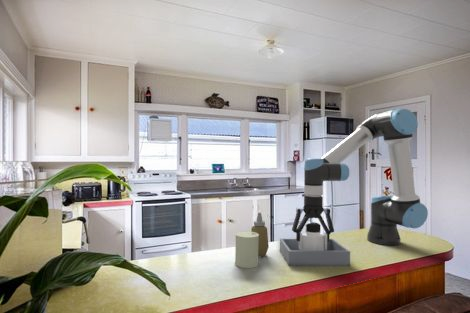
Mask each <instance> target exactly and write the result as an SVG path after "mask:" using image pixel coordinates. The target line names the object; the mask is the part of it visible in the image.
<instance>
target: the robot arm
mask: <svg viewBox="0 0 470 313" xmlns="http://www.w3.org/2000/svg"><path fill="white" fill-rule="evenodd" d="M418 124H419V123H418V119H417V116H416V115H415V114H414V112H413V111H411V110H410V109H408V108H394V109H391V110H387V111H381V112H377V113H375V114H372V115H371V116H370V117H368V118H367V119H365V120H364V121H363V122H361V123H360V124H359V125H358V126H356V129H355V131H353V132H352V133H350V135H348V136H347V137H346V138H344V139H343V140H342V141H341V142H339V143H338V144H336V146H335V147H333V148H332V149H331V150H329V151H328V152H327V153H326V154H324V155H323V156H322V157H321V158H305V160H304V167H303V170H304V172H303V173H304V174H303V175H304V176H303V177H304V179H303V181H304V183H303V184H304V187H303V188H304V189H303V193H304V196H303V207H301V208H299V207H296V210H295V211H296V212H295V213H296V214H295V216H294V221H293V225H292V229H291V231H292V232H293V233H296V236H295V239H296V240H297V241H299V249H300V250H302V234H303V233H301V232H302V231H303V229H304V227H306V223H308V221H309V219H318V221H319V222H320V223H319V224H320V226H321V227H322V228H323V230H324V232H322V235H324V249H325V250H327V241H329V239H330V235H331V233H335V230H334V224H333V221H332V217H331V209H330V208H328V207H326V208H324V207H323V206H324V202H323V200H324V199H323V198H324V197H323V196H322V195H324V190H323V189H324V182H343V181H347V180H348V179H349V176H350V168H349V166H348V165H347V164H346V163H343V161H345V160H346V159H347V158H349V157H350V156H351V155H353V154H354V153H355V152H356V151H357V150H358V149H359V148H361V147H362V146H364V145H365V144H366V143H370V142H372V141H373V140H375V139H377V138H380V137H381V138H383V141H384V142H385V143H387V145H388V148H387V149H388V154H389V155H388V156H389V163H390V171H391V173H390V174H391V181H392V189H393V194H392V195H373V197H371V201H370V202H371V203H370V209H371V210H370V216H371V217H370V226H369V229H368V232H367V234H366V235H367V236H366V240H367V241H368V242H370V243H374V244H377V243H378V244H377V245H382V244H384V246H398V245H401V236H400V233H399V229H398V228H397V227H398V226H402V227H405V228H409V229H418V228H421V227H422V226H423V225H425V222H426V221H427V220H428V216H429V215H428V214H429V213H428V212H429V210H428V208H427V206H426V205H425V204H424V203H421V198H420V196H419V195H418V194H416V188H415V181H414V171H413V164H412V163H413V162H412V154H411V146H410V141H411V140H412V139H413V133H415V132H416V131H417V128H418ZM302 213H304V215H303V218H302V219H301V215H302ZM322 213H323V214H324V215H325V219H326V222H325V221H324V218H323V216H322ZM300 219H301V221H300ZM299 222H300V223H299ZM326 223H327V224H326ZM327 225H328V226H327ZM397 225H398V226H397Z"/></svg>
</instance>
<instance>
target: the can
mask: <svg viewBox="0 0 470 313" xmlns="http://www.w3.org/2000/svg"><path fill="white" fill-rule="evenodd" d="M234 235H235V253H234V254H235V255H234V256H235V259H234V260H235V261H234V265H235V266H236V267H239V268H242V269H252V268H256V267H258V266H259V257H258V239H259V234H258V233H255V232H251V231H248V230H247V231H237V232H235V234H234Z"/></svg>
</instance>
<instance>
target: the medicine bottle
mask: <svg viewBox="0 0 470 313" xmlns="http://www.w3.org/2000/svg"><path fill="white" fill-rule="evenodd" d="M304 227H305V228H304V229H305V233H301V234H302V250H301V251H324V235H323V233H322V234H321V223H318V222H315V221H314V222H313V221H309V222H308V221H307V222H306V224H305V226H304Z"/></svg>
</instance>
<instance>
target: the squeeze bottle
mask: <svg viewBox="0 0 470 313" xmlns="http://www.w3.org/2000/svg"><path fill="white" fill-rule="evenodd" d="M256 216H257V217H256V220H254V221H253V225H252V226H251V229H250V230H251V231H250V232H255V233H258V234H259V239H258V258H263V257H264V258H265V256H266V255H267V253H268V250H269V248H270V247H269V236H268V235H269V234H268V227H267V226H266V221H264V220H263V216H262V213H261V212H258V213H257V215H256Z"/></svg>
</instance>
